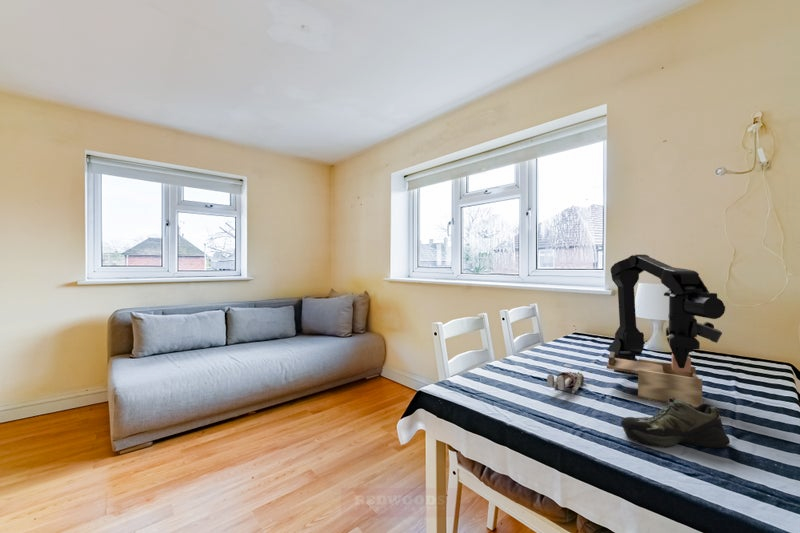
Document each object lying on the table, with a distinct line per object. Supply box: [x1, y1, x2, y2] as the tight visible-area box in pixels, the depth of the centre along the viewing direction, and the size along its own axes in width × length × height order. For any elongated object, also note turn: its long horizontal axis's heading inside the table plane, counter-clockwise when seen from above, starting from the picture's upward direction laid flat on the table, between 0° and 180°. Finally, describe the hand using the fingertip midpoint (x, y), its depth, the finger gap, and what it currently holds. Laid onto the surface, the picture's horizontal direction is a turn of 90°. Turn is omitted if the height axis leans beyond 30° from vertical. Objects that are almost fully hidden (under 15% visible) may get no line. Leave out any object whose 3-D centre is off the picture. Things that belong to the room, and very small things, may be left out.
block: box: [671, 353, 692, 373], centre depth 97 cm, size 4×4×4 cm
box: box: [637, 358, 703, 407], centre depth 99 cm, size 14×14×8 cm
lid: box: [606, 351, 664, 375], centre depth 103 cm, size 14×12×3 cm
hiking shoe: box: [620, 398, 731, 449], centre depth 75 cm, size 8×21×9 cm, turn 87°
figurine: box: [546, 371, 585, 395], centre depth 104 cm, size 6×6×20 cm
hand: (680, 366), depth 97 cm, fingers closed on block, 4 cm apart
